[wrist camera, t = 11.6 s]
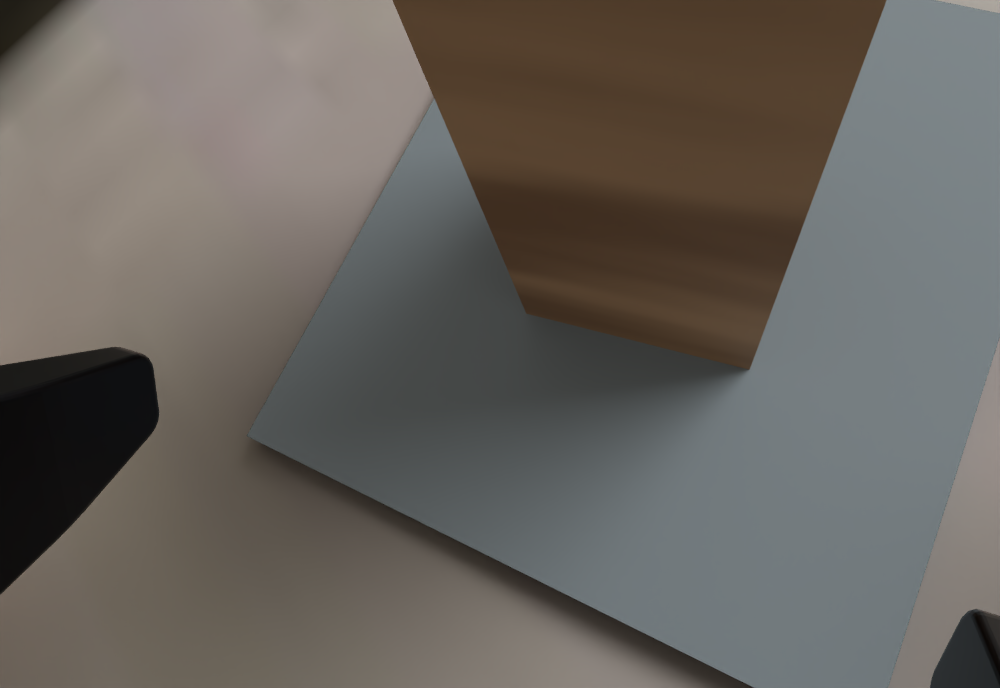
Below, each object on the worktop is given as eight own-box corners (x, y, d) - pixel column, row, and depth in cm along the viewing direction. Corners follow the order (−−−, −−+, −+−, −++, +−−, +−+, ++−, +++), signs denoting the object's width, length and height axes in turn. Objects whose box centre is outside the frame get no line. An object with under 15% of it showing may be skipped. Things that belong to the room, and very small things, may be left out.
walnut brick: (749, 369, 16) (1022, -367, 4) (526, 313, 17) (239, -360, 5) (801, 167, 17) (1125, -843, 5) (589, 129, 19) (470, -738, 7)
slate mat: (861, 740, 14) (868, 744, 13) (258, 441, 18) (246, 435, 18) (1083, 51, 18) (1096, 32, 17) (536, -63, 22) (533, -81, 21)
